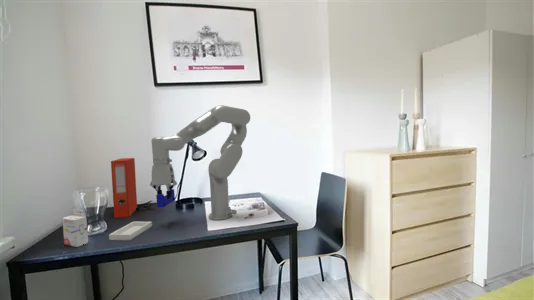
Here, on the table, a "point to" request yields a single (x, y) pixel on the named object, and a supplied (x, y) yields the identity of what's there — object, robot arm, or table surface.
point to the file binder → (124, 187)
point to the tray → (130, 231)
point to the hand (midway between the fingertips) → (164, 198)
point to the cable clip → (164, 199)
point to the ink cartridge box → (75, 228)
